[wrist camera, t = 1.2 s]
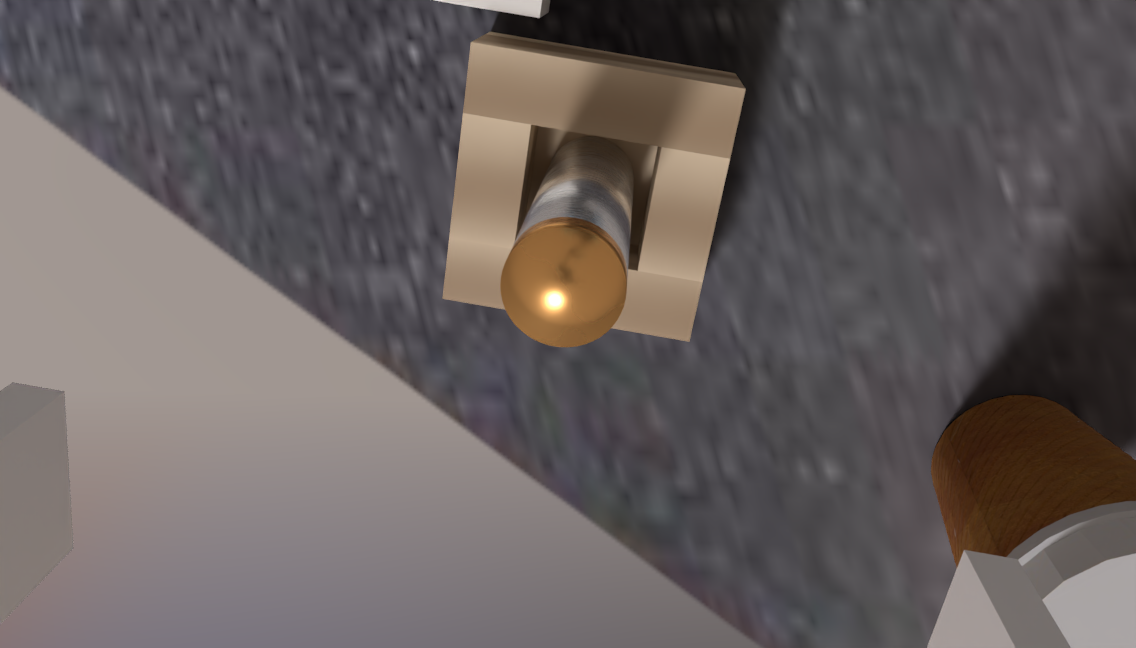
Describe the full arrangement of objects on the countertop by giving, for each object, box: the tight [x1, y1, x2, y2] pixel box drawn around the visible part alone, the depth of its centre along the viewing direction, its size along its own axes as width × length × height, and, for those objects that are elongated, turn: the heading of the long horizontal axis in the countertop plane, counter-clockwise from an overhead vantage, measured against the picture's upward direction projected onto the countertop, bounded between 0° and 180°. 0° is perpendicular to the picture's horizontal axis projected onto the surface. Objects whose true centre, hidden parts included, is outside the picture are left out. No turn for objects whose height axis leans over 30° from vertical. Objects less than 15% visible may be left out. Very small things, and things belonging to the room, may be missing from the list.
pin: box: [500, 136, 634, 347], centre depth 29 cm, size 3×3×12 cm
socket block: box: [443, 32, 746, 342], centre depth 34 cm, size 9×9×4 cm
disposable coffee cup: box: [931, 395, 1136, 648], centre depth 33 cm, size 10×10×12 cm
